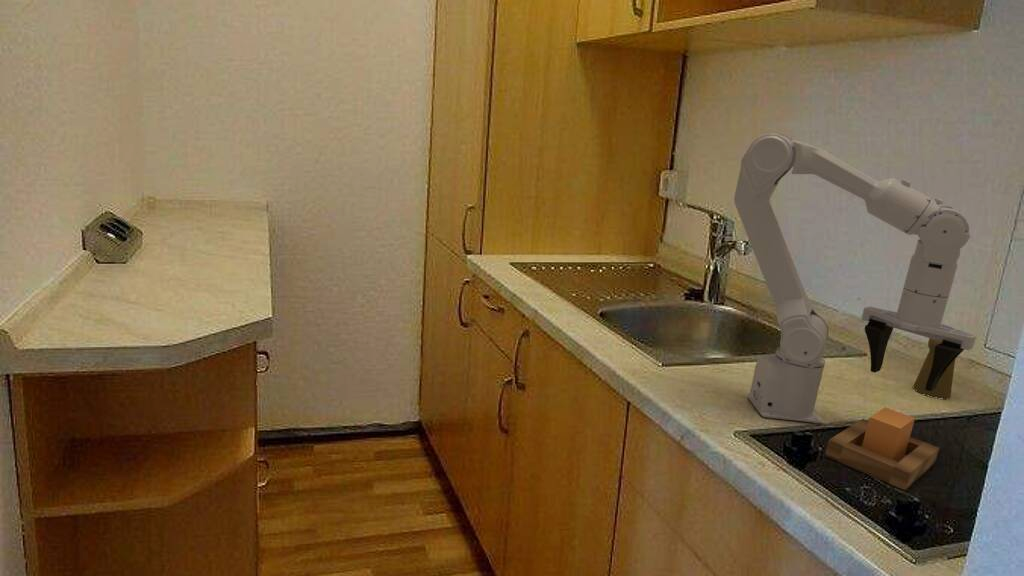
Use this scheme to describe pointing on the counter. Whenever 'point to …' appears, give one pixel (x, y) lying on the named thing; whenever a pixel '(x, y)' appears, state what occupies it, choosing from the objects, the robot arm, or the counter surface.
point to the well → (881, 457)
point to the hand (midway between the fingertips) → (901, 379)
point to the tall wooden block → (888, 433)
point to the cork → (920, 384)
